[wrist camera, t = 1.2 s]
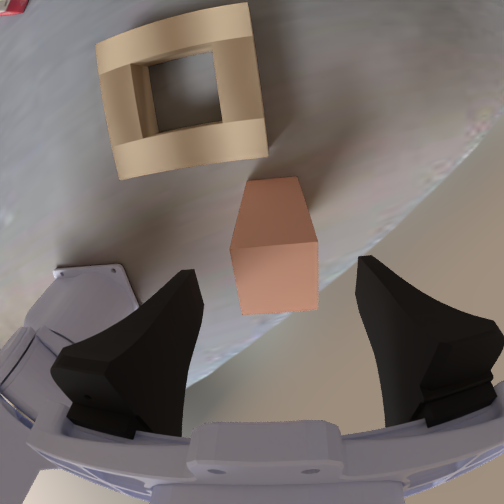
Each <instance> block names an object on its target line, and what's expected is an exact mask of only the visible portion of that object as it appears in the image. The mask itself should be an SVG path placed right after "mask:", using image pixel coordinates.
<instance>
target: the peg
mask: <svg viewBox="0 0 504 504" xmlns="http://www.w3.org/2000/svg"><path fill="white" fill-rule="evenodd" d="M230 254H231V259H232V265H233V270H234V275H235V281H236V286H237V291H238V296H239V301H240V306H241V312H242V315H250V314H267V313H282V312H295V311H307V310H318V240H317V237H316V233H315V230H314V227H313V224H312V221H311V217H310V214H309V211H308V208H307V205H306V202H305V199H304V196H303V193H302V190H301V187H300V184H299V181H298V178H297V176H296V177H284V178H272V179H262V180H252V181H247V182H246V186H245V190H244V194H243V198H242V202H241V206H240V210H239V214H238V217H237V221H236V225H235V229H234V233H233V237H232V241H231V245H230Z"/></svg>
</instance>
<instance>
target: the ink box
mask: <svg viewBox="0 0 504 504" xmlns="http://www.w3.org/2000/svg"><path fill="white" fill-rule="evenodd" d="M27 2H28V0H0V16H6V15H14V14H20V13H23V12H24V9H25V7H26V5H27Z"/></svg>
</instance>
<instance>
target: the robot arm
mask: <svg viewBox="0 0 504 504" xmlns="http://www.w3.org/2000/svg"><path fill="white" fill-rule="evenodd" d="M113 269H115V270H116V271H115V270H113ZM53 275H54V277H55V281H54V282H53V283H52V284H51V285H50V286H49V287H48V288H47V290H46V291H45V292H44V293H43V294H42V295H41V297H40V298H39V299H38V300H37V301H36V303H35V304H34V305H33V306H32V307H31V309H30V310H29V312H28V313H27V315H26V318H25V321H24V327H20V328H19V329H18V330H17V331H16V332H15V333H14V334H13V335H12V337H11V338H10V339H9V340H8V341H7V343H6V344H5V345H4V347H3V348H2V349H1V351H0V393H1V394H2V395H3V396H4V397H5V398H7V399H8V400H9V401H10V402H11V403H12V404H13V405H15V406H16V407H17V408H18V409H19V410H20V411H22V412H23V413H24V414H25V415H27V416H28V417H29V418H30V419H32V420H33V421H34V422H35V423H34V424H33V423H32V422H31V421H29V420H28V419H27V418H26V417H24V416H23V415H22V414H21V413H19V412H18V411H17V410H16V409H15V408H14V407H12V406H11V405H10V404H9V403H8V402H6V400H5V399H4V398H3V397H2V396H1V395H0V504H22V503H23V501H24V499H25V497H26V495H27V493H28V492H29V489H30V488H31V486H32V484H33V482H34V480H35V479H36V477H37V475H38V473H39V471H40V470H45V469H63V470H65V471H67V472H69V473H72V474H74V475H76V476H78V477H81V478H83V479H86V480H88V481H90V482H93V483H95V484H98V485H100V486H103V487H106V488H108V489H111V490H114V491H117V492H119V493H122V494H125V495H128V496H131V497H135V498H138V499H141V500H144V501H148V502H150V503H149V504H405V500H404V498H405V497H408V496H411V495H414V494H417V493H419V492H423V491H425V490H428V489H430V488H433V487H435V486H438V485H440V484H443V483H445V482H447V481H450V480H452V479H454V478H456V477H459V476H461V475H463V474H465V473H467V472H469V471H471V470H473V469H475V468H477V467H479V466H481V465H483V464H485V463H486V462H489V461H490V460H492V459H494V458H496V457H498V456H499V455H501V454H503V453H504V381H501V382H500V383H498V384H497V385H496V386H494V387H493V385H492V383H491V381H492V380H493V374H492V372H491V369H492V367H493V365H494V364H495V362H496V361H497V359H498V357H499V356H500V354H501V352H502V350H503V347H504V335H503V334H502V332H501V331H500V329H499V328H498V326H497V325H496V323H495V322H494V321H493V320H489V319H485V318H481V317H478V316H474V315H471V314H468V313H465V312H462V311H460V310H457V309H455V308H452V307H450V306H448V305H446V304H443V303H441V302H439V301H437V300H435V299H433V298H432V297H430V296H428V295H426V294H425V293H423V292H421V291H420V290H418V289H416V288H415V287H414V286H412V285H411V284H409V283H408V282H406V281H405V280H403V279H402V278H400V277H399V276H398V275H397V274H395V273H394V272H393V271H392V270H390V269H389V268H388V267H386V266H385V265H384V264H383V263H381V262H380V261H379V260H377V259H376V258H375V257H373V256H372V255H370V256H358V268H357V281H356V291H355V295H356V299H357V304H358V309H359V313H360V316H361V318H362V321H363V324H364V327H365V329H366V332H367V335H368V338H369V340H370V343H371V346H372V349H373V352H374V355H375V359H376V363H377V367H378V373H379V378H380V384H381V390H382V397H383V405H384V413H385V427H386V428H383V429H378V430H372V431H367V432H361V433H355V434H348V435H341V433H340V430H339V428H338V426H337V425H335V424H332V423H329V422H326V421H323V420H321V421H320V420H301V421H284V422H212V423H204V424H202V425H200V426H198V427H196V428H194V429H193V431H192V435H191V438H184V437H182V418H183V406H184V397H185V389H186V382H187V376H188V370H189V365H190V361H191V358H192V355H193V351H194V348H195V344H196V341H197V338H198V334H199V331H200V327H201V323H202V317H203V310H204V303H203V299H202V296H201V292H200V289H199V285H198V281H197V278H196V274H195V270H194V269H191V270H181V271H180V272H179V273H177V274H176V275H175V276H174V277H173V278H172V279H171V280H170V281H169V282H167V283H166V284H165V285H164V286H163V287H162V288H161V289H160V290H159V291H158V292H157V293H155V294H154V295H153V296H152V297H151V298H150V299H148V300H147V301H146V302H145V303H144V304H143V305H141V306H140V307H139V305H138V302H137V300H136V298H135V295H134V293H133V290H132V288H131V286H130V283H129V281H128V278H127V275H126V273H125V270H124V268H123V266H122V265H120V264H109V265H97V266H84V267H71V268H59V269H55V270H54V271H53Z"/></svg>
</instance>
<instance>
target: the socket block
mask: <svg viewBox="0 0 504 504" xmlns="http://www.w3.org/2000/svg"><path fill="white" fill-rule="evenodd" d="M95 47H96V57H97V65H98V73H99V80H100V87H101V93H102V100H103V106H104V111H105V117H106V122H107V127H108V132H109V137H110V142H111V146H112V151H113V155H114V160H115V164H116V168H117V172H118V176H119V180H124V179H128V178H133V177H138V176H143V175H148V174H153V173H159V172H164V171H170V170H175V169H181V168H187V167H194V166H200V165H207V164H214V163H221V162H229V161H237V160H245V159H254V158H264V157H268V152H269V149H268V140H267V132H266V123H265V115H264V107H263V100H262V92H261V84H260V77H259V70H258V62H257V55H256V48H255V42H254V35H253V28H252V22H251V15H250V11H249V7H248V3H247V2H245V3H237V4H230V5H224V6H218V7H213V8H208V9H203V10H198V11H194V12H189V13H185V14H181V15H177V16H174V17H170V18H166V19H163V20H160V21H156V22H153V23H150V24H147V25H144V26H141V27H138V28H135V29H132V30H129V31H127V32H124V33H121V34H119V35H116V36H114V37H111V38H109V39H107V40H104V41H102V42H100V43H97V44H95ZM211 51H212V52H213V59H214V66H215V73H216V80H217V87H218V94H219V101H220V107H221V114H222V121H218V122H212V123H205V124H200V125H194V126H189V127H184V128H179V129H174V130H169V131H164V132H160V133H159V130H158V124H157V119H156V113H155V107H154V101H153V95H152V89H151V83H150V76H149V69H148V67H149V66H152V65H156V64H159V63H163V62H167V61H171V60H175V59H179V58H183V57H187V56H192V55H196V54H201V53H206V52H211Z"/></svg>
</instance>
